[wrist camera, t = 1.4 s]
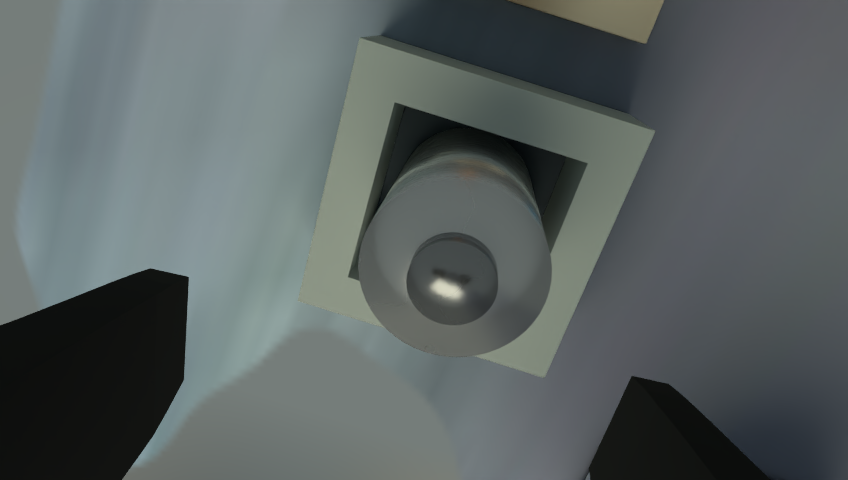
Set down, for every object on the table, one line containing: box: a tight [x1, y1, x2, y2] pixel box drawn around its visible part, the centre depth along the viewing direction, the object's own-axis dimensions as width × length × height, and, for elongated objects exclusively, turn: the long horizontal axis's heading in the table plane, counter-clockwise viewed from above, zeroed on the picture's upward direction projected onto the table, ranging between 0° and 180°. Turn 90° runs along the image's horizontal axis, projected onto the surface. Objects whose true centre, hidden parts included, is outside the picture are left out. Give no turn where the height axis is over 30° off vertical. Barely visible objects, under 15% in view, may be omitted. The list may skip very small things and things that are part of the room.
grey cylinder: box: [358, 128, 552, 357], centre depth 16 cm, size 4×4×7 cm
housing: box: [298, 35, 655, 378], centre depth 18 cm, size 8×8×3 cm
